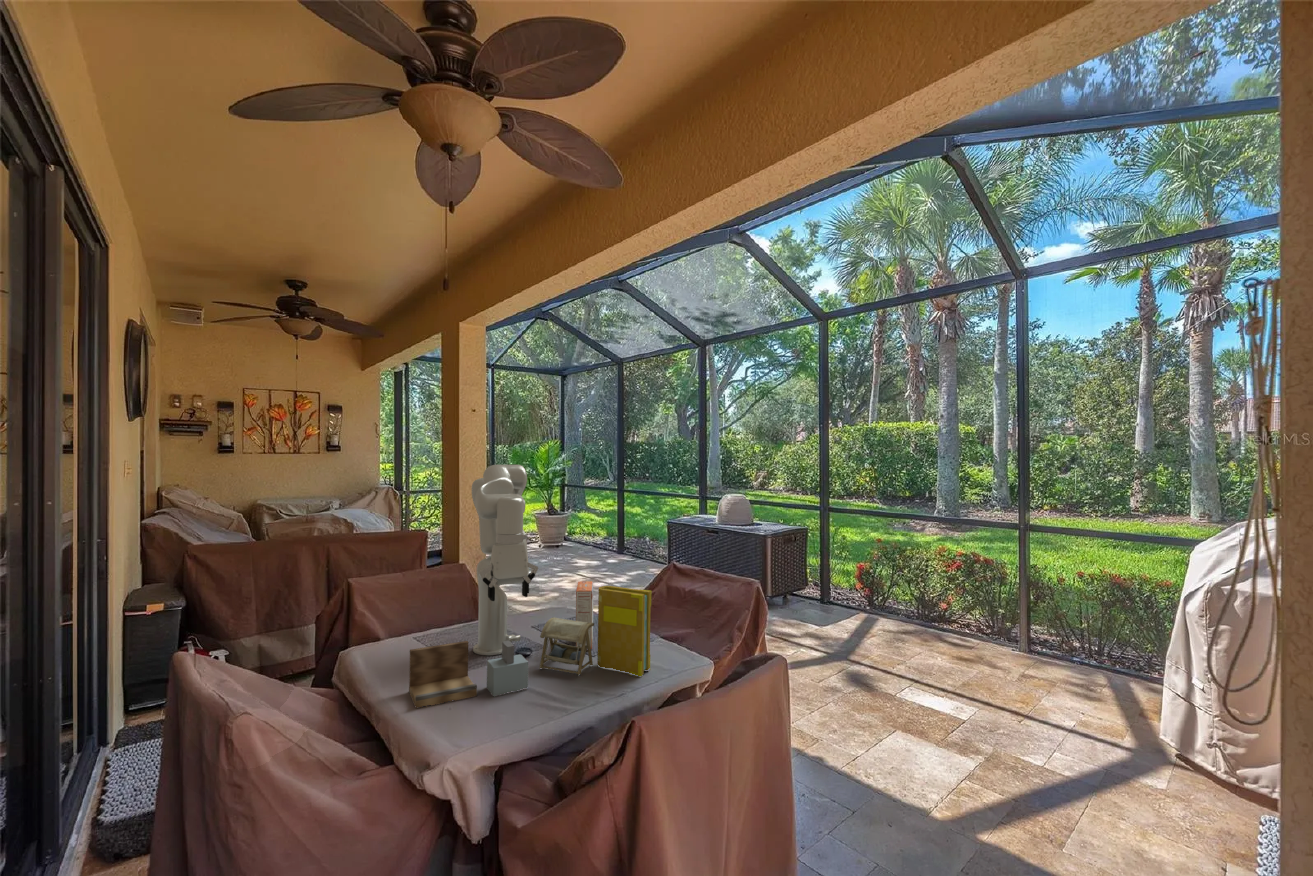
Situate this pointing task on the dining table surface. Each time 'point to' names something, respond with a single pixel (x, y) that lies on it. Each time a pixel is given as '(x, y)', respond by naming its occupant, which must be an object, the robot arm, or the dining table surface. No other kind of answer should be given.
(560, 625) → the swing bench
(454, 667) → the cleat board
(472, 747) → the dining table surface
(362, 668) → the dining table surface
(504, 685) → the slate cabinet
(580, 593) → the cracker box
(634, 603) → the book
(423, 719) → the dining table surface
